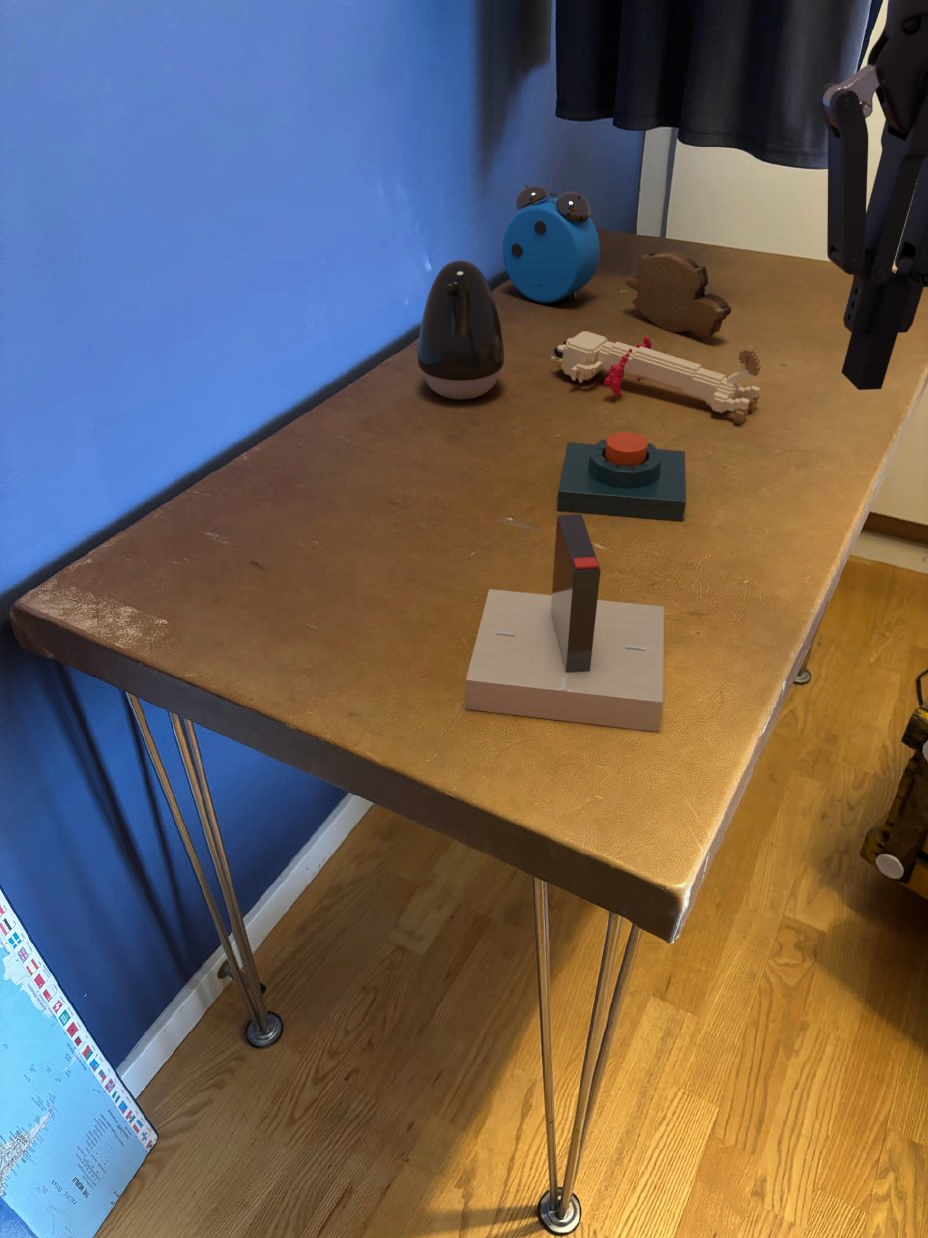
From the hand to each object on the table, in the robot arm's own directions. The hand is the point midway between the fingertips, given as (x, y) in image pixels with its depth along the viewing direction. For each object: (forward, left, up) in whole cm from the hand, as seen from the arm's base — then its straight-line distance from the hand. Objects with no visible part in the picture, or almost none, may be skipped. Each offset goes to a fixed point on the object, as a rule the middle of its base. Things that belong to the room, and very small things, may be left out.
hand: (861, 380), depth 59 cm
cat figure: (+12, -45, -23) cm, 52 cm away
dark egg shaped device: (+34, -42, -23) cm, 59 cm away
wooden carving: (+9, -66, -23) cm, 70 cm away
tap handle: (+17, +6, -19) cm, 26 cm away
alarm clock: (+27, -75, -23) cm, 83 cm away
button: (+14, -22, -19) cm, 32 cm away
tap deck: (+17, +6, -22) cm, 29 cm away
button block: (+14, -22, -22) cm, 34 cm away
